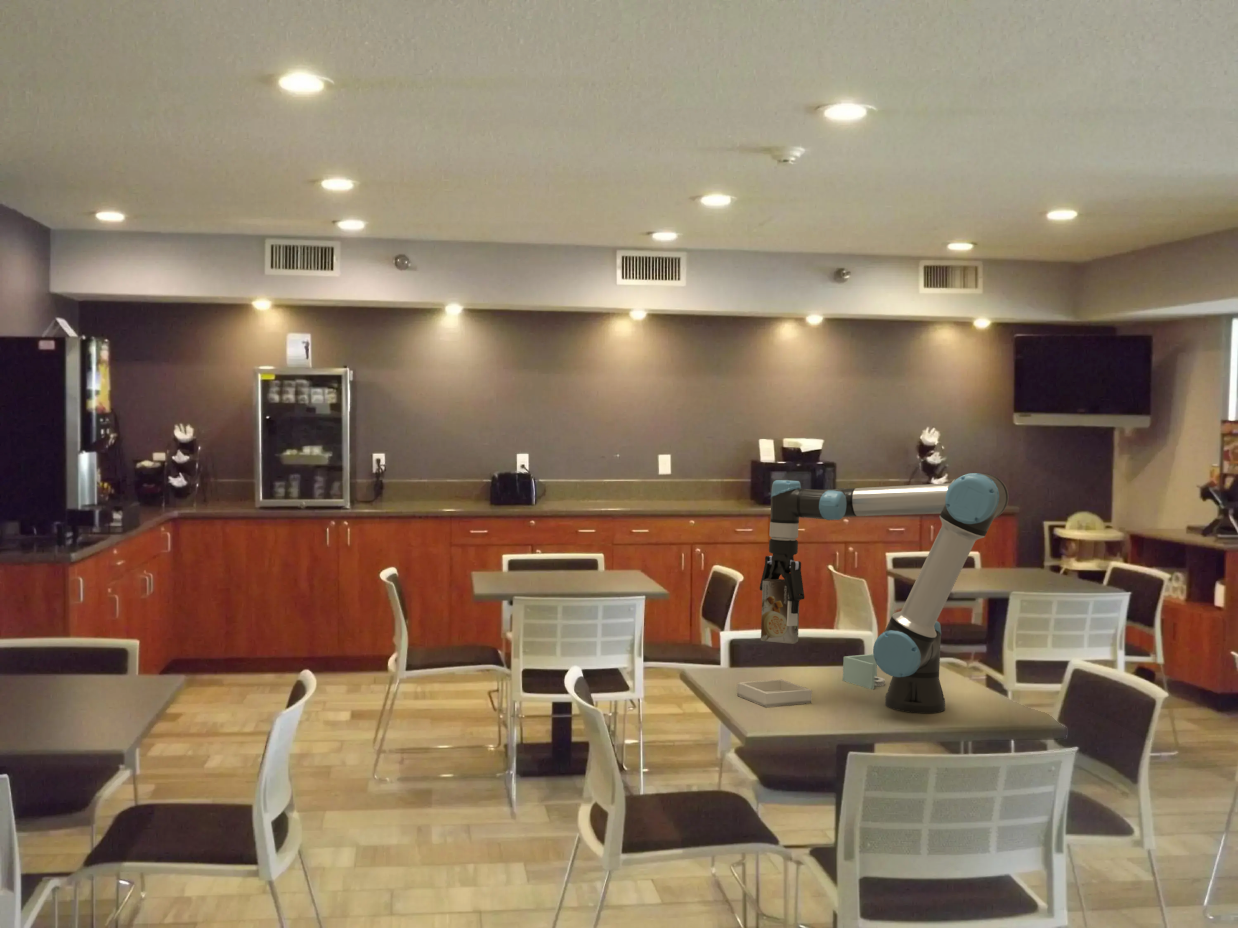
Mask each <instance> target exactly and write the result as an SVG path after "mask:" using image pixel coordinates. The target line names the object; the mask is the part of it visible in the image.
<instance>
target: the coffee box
mask: <svg viewBox="0 0 1238 928" xmlns="http://www.w3.org/2000/svg"><path fill="white" fill-rule="evenodd" d="M761 594H762V595H761V616H760V617H761V618H760V619H761V623H760V624H761V625H760V627H761V628H760V641H762V642H770V643H771V642H772V643H783V644H794V645H795V644H796V643H797V642H798V641H799V624H800V622H799V621H800V605H799V606H798V618H797V626H787V608H788V599H789V594H788V590H787V587H786V583H785V580H784V578H783V579H782V578H779V579H769V578H767V579H765V580H763V584H762V590H761ZM799 595H800V594H799ZM793 596H794V595H793Z"/></svg>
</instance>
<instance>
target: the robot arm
mask: <svg viewBox="0 0 1238 928" xmlns="http://www.w3.org/2000/svg"><path fill="white" fill-rule="evenodd" d="M771 486H772V487H771V494H770V521H769V534H768V535H769V537H770V539H769V540H768V552H769V553H770V554H772V555H765V557H764V558H765V559H764V567H763V573H762V576H761V580H760V585H759V590H760V591H762V584H763V580H765V579H767V578H769V579H780V576H781V577H782V578H783V579H784V580H785V583H786V587H787V590H788V594H789V599H788V608H787V626H797V618H798V606H799V607H800V601H802V600H805V592H804V584H803V576H802V561H799V560H797V561H795V559H794V555H797V554H798V551H799V550H798V549H799V541H798V540H797V539H798V538H799V523H800V518H803V519H804V518H806V519H807V518H808V519H819V520H826V521H834V520H835V521H840V520H842V519H843V518H846V517H848V518H849V517H866V516H867V517H870V516H872V517H873V516H899V515H900V516H903V515H905V516H906V515H926V514H927V515H928V514H929V515H930V514H932V515H933V514H935V515H936V514H939V519H940V522H941V526H940V527H941V528H940V529H939V531H938V533H937V535H936V537H935V540H934V542H933V543H932V546H931V548H930V550H929V553H928V554H927V556H926V558H925V560H924V563H923V565H922V566H921V569H920V571H919V573H918V575H917V577H916V579H915V582H914V584H913V586H912V587H911V589H910V592H909V594H908V596H907V599H906V600H905V602H904V604H903V607H902V608H901V610H899V611H897V612H894V613H893V614H892V615H891V617H890V619H889V621H888V623H887V625H886V627H885V629H884V631H883V632H882V633H880V635H878V637H877V638H876V640H875V641H874V643H873V648H872V654H873V655H874V659H875V661H876V664H877V668H879V669H880V671H882V672H883V673H885V674H886V675H888V676H890V677H891V680H890V683H889V685H888V689H887V692H886V693H885V699H884V705H885V706H886V707H888V708H890V709H893V710H897V711H901V712H907V713H918V714H931V713H932V714H934V713H941V712H944V711H945V710H946V699H945V696H944V693H943V687H942V685H941V681H940V667H941V666H940V663H941V659H940V658H941V641H942V640H941V639H942V637H941V636H942V630H941V626H942V625H941V623H940V622H939V621H938V619H939V617H940V615H941V612H942V610H943V609H944V607H945V605H946V603H947V600H948V598H949V596H950V594H951V592H952V590H953V587H954V586H955V584H956V582H957V580H958V577H959V576H960V574H961V572H962V570H963V567H964V565H965V563H966V561H967V559H968V557H969V555H970V553H971V551H972V549H973V546H974V545H975V542H976V541H978V540H980V539H983V538H985V537H986V535H987V534H988V531H989V529H990V527H991V525H992V523H993V522H994V519H996V518H998V517H999V516H1000V515H1001V514H1003V512H1004V511H1005V510H1006V509H1007V506H1008V503H1009V490H1008V488H1007V486H1006V484H1005V483H1004V482H1003V481H1002V480H1001V479H1000V478H999V477H997V476H996V475H993V474H991V473H990V474H989V473H979V472H978V473H976V472H974V473H973V472H972V473H966V474H964V475H961V476H959V477H957V478H954V479H953V480H952V481H951V482H949V483H933V484H929V483H928V484H911V485H910V484H909V485H891V486H876V487H875V486H874V487H872V486H871V487H856V488H841V487H840V488H835V489H807V488H802V485H801V482H800V481H799V480H788V479H776V480H774V481H773V482H772V485H771ZM799 594H800V595H799ZM793 595H794V596H793Z"/></svg>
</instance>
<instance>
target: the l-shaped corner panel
mask: <svg viewBox="0 0 1238 928" xmlns="http://www.w3.org/2000/svg"><path fill="white" fill-rule="evenodd" d="M842 661H843V664H842V682H845V681H846V683H848V682H849V684H852V683H853V685H855V684H856V686H858V685H859V687H862V686H863V688H866V689H869V690H875V687H883V686H885V685H886V684H885V683H886V679H885V678H884V677H879V676H878V665H877V664H876V661H875V659H874V655H873V653H869V654H867V653H866V654H858V655H848V656H843V660H842Z"/></svg>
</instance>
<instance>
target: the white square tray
mask: <svg viewBox="0 0 1238 928" xmlns="http://www.w3.org/2000/svg"><path fill="white" fill-rule="evenodd" d="M736 686H737V687H736V696H737V697H739V698H742V699H744V700H745V701H746V700H747V701H749V702H752V703H753V704H754V703H755V704H756V705H758V706H761V707H764V708H775V706H776V707H782V706H781V705H788V706H797V705H796V704H799V705H807V703H811V704H812V700H813V699H812V697H813V696H812V694H813V693H812V692H813V691H812V689H810V688H807V687H804V686H803V685H802V686H801V685H800V684H799V685H798V684H796V683H793V682H791V681H788V680H784V679H781V678H780V679H769V680H768V679H767V680H755V681H743V682H737V685H736ZM805 703H806V704H805ZM794 704H795V705H794Z"/></svg>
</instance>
